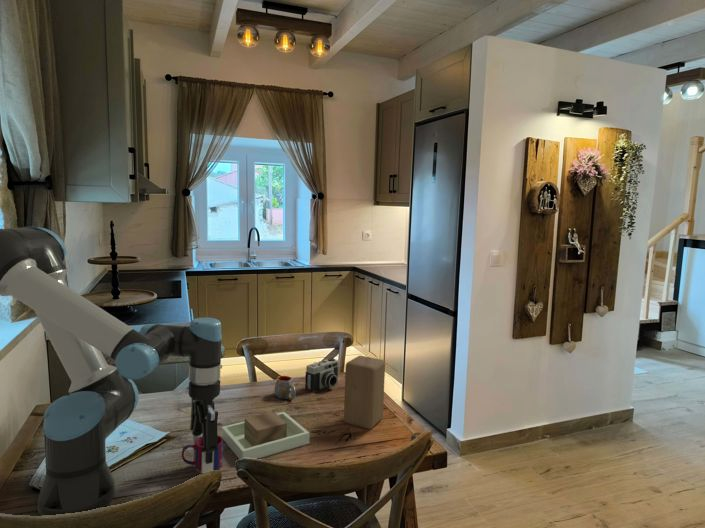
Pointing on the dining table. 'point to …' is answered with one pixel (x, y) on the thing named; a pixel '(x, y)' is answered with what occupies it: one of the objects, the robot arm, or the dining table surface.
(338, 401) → the dining table surface
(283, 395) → the mug
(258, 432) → the walnut block
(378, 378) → the wooden block
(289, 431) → the tray
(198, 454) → the cup
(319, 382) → the camera
